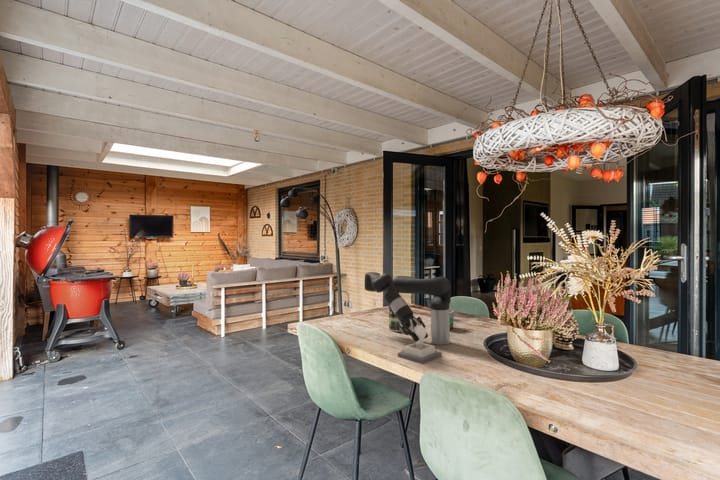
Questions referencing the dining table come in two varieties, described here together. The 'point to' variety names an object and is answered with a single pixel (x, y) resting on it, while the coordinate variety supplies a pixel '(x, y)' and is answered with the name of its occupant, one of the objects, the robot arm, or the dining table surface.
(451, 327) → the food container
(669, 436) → the dining table surface
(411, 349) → the socket stand
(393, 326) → the coffee can
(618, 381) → the dining table surface
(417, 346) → the lightbulb
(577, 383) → the dining table surface
